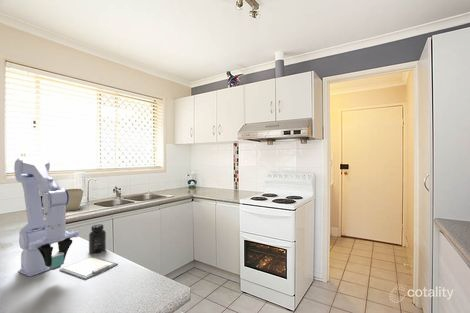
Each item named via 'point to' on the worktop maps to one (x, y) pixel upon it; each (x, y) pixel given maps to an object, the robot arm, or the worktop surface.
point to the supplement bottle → (97, 239)
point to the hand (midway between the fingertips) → (55, 263)
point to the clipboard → (88, 267)
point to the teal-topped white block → (56, 260)
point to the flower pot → (74, 199)
